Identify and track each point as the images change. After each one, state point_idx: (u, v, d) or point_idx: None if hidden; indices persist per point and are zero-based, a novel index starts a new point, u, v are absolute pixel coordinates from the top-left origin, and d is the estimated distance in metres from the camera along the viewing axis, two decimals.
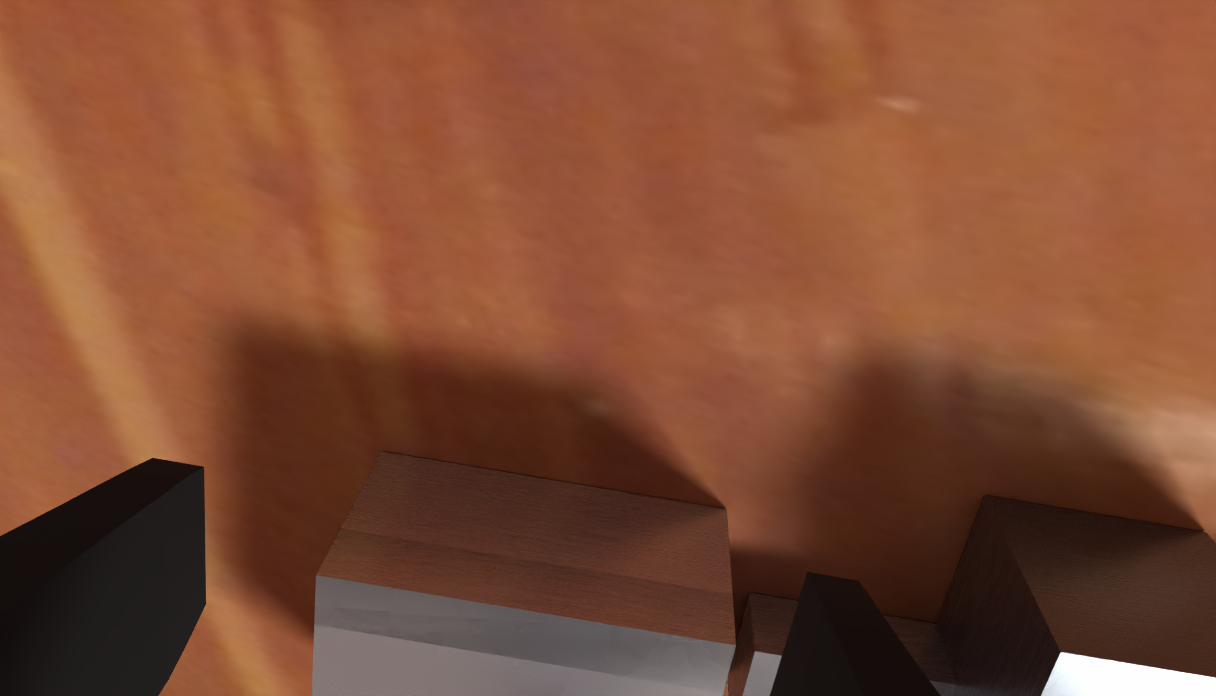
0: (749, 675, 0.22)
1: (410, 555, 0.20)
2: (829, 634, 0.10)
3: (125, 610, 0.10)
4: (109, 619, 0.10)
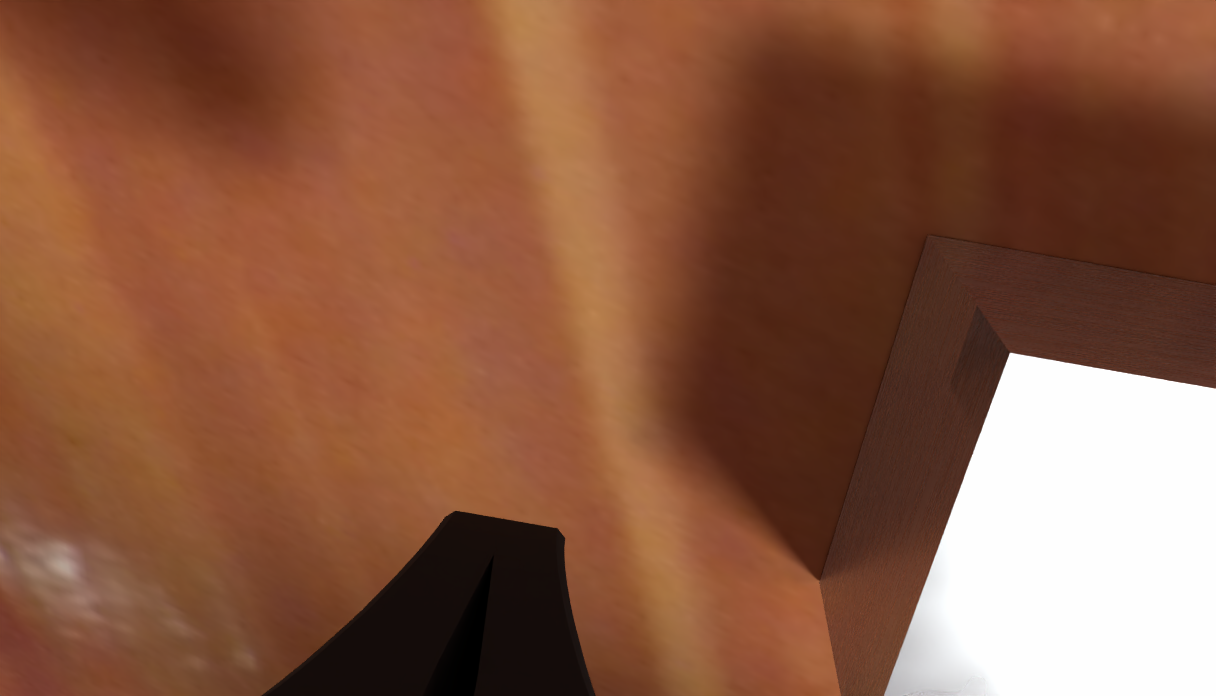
0: None
1: (1104, 340, 0.13)
2: (491, 575, 0.10)
3: (465, 669, 0.10)
4: (459, 680, 0.10)
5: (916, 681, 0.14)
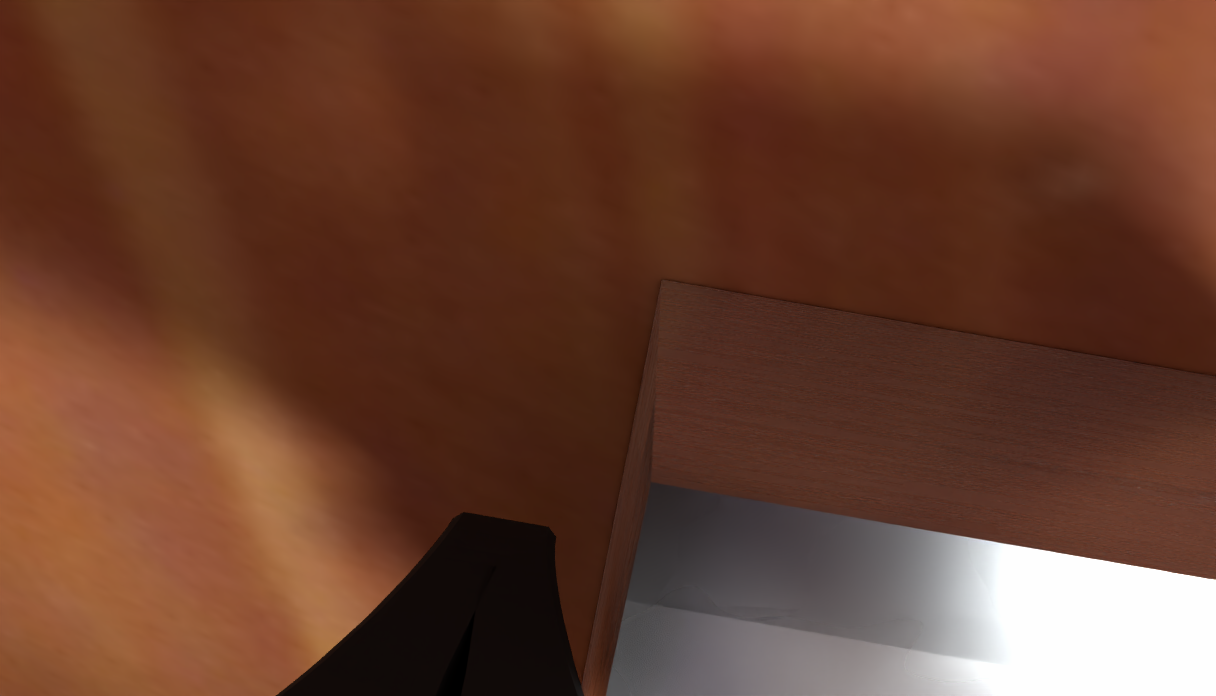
0: None
1: (825, 449, 0.09)
2: None
3: None
4: None
5: None
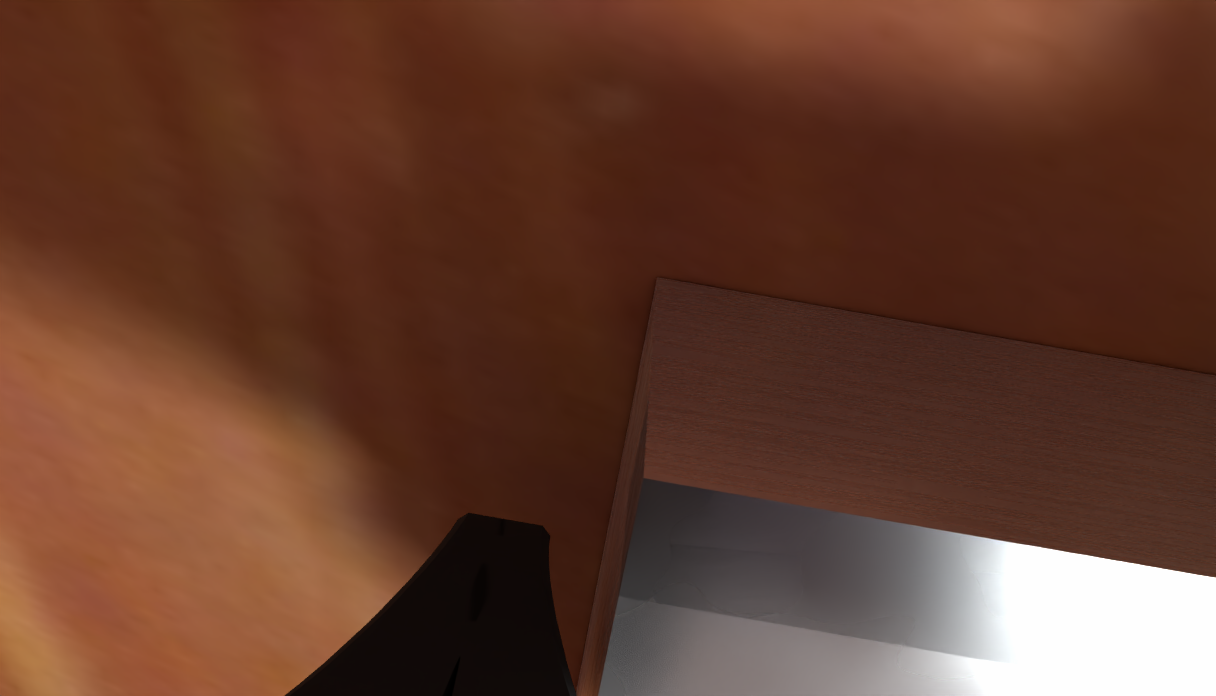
0: None
1: (818, 446, 0.09)
2: None
3: None
4: None
5: None
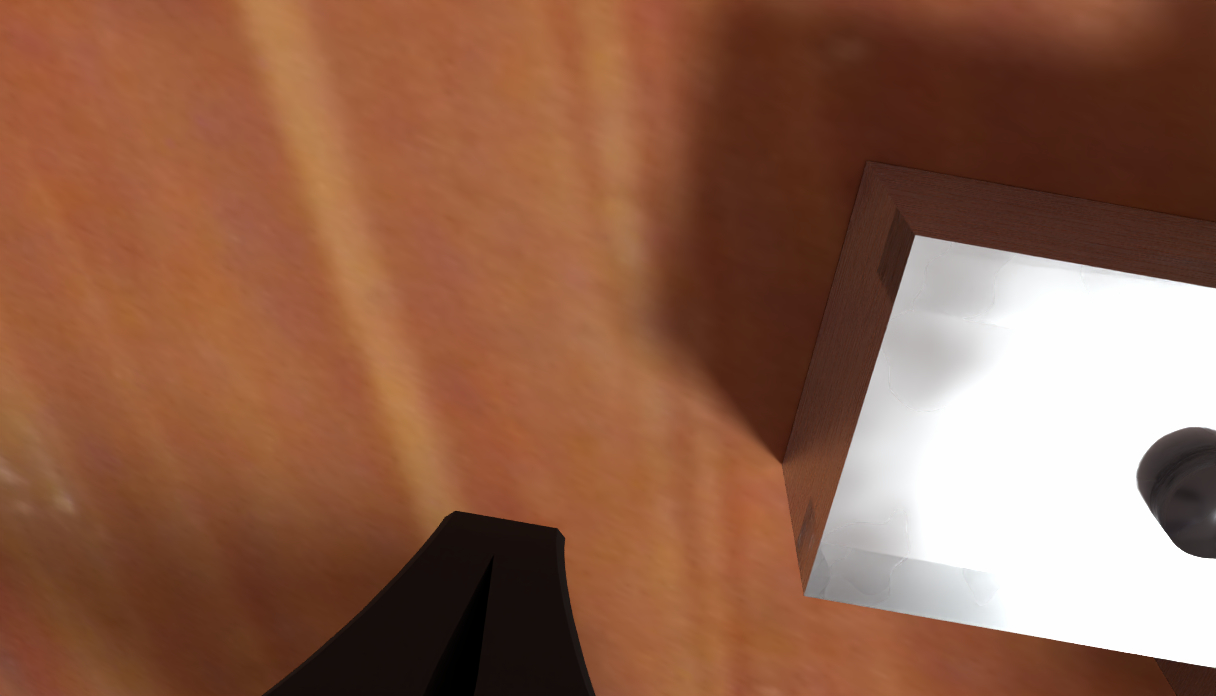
0: None
1: (995, 231, 0.16)
2: (491, 575, 0.10)
3: (465, 669, 0.10)
4: (458, 679, 0.10)
5: (851, 515, 0.18)
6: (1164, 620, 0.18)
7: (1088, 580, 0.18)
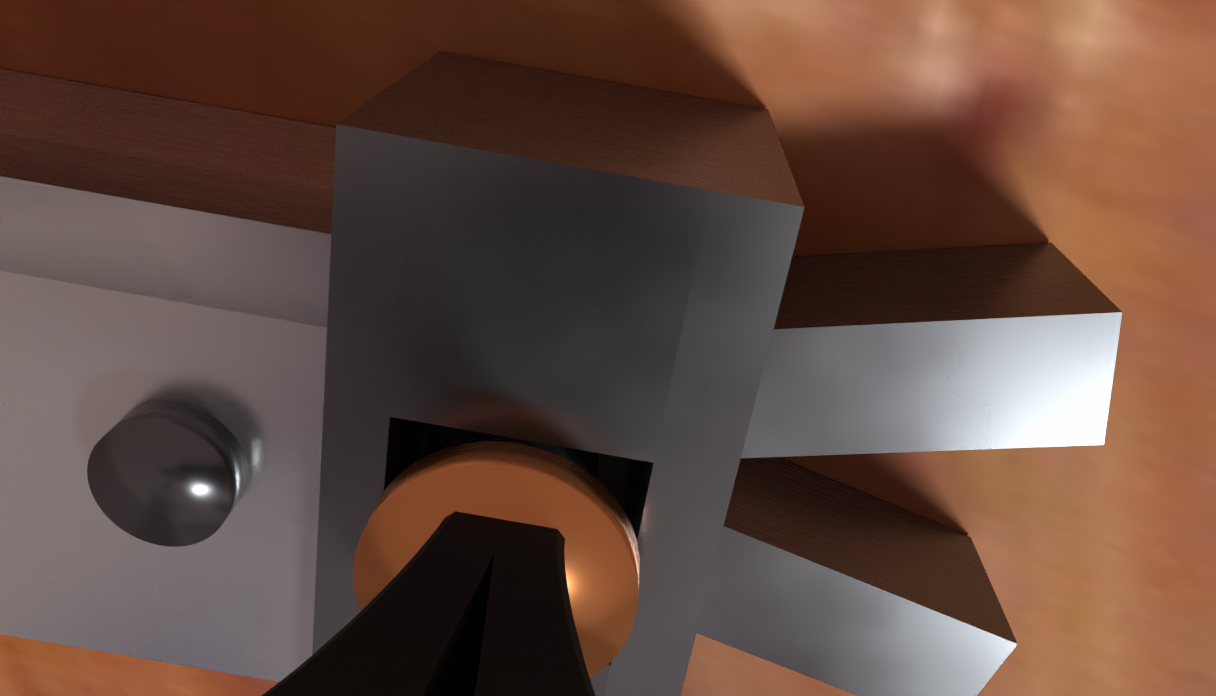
0: None
1: None
2: (491, 575, 0.10)
3: (465, 669, 0.10)
4: (458, 680, 0.10)
5: None
6: (209, 625, 0.14)
7: (95, 575, 0.14)
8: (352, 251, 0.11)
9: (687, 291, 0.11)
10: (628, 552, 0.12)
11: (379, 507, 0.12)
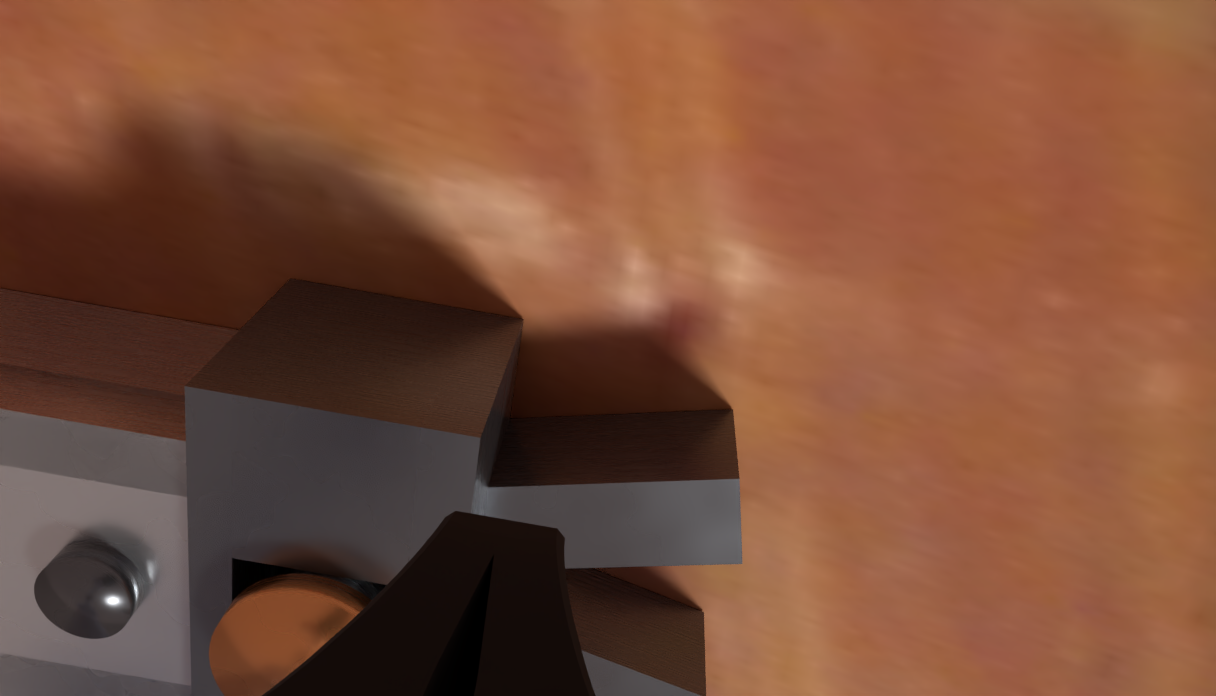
0: None
1: None
2: (491, 575, 0.10)
3: (465, 669, 0.10)
4: (459, 680, 0.10)
5: None
6: (123, 687, 0.20)
7: (43, 653, 0.20)
8: (200, 458, 0.17)
9: (414, 485, 0.17)
10: None
11: (223, 617, 0.18)
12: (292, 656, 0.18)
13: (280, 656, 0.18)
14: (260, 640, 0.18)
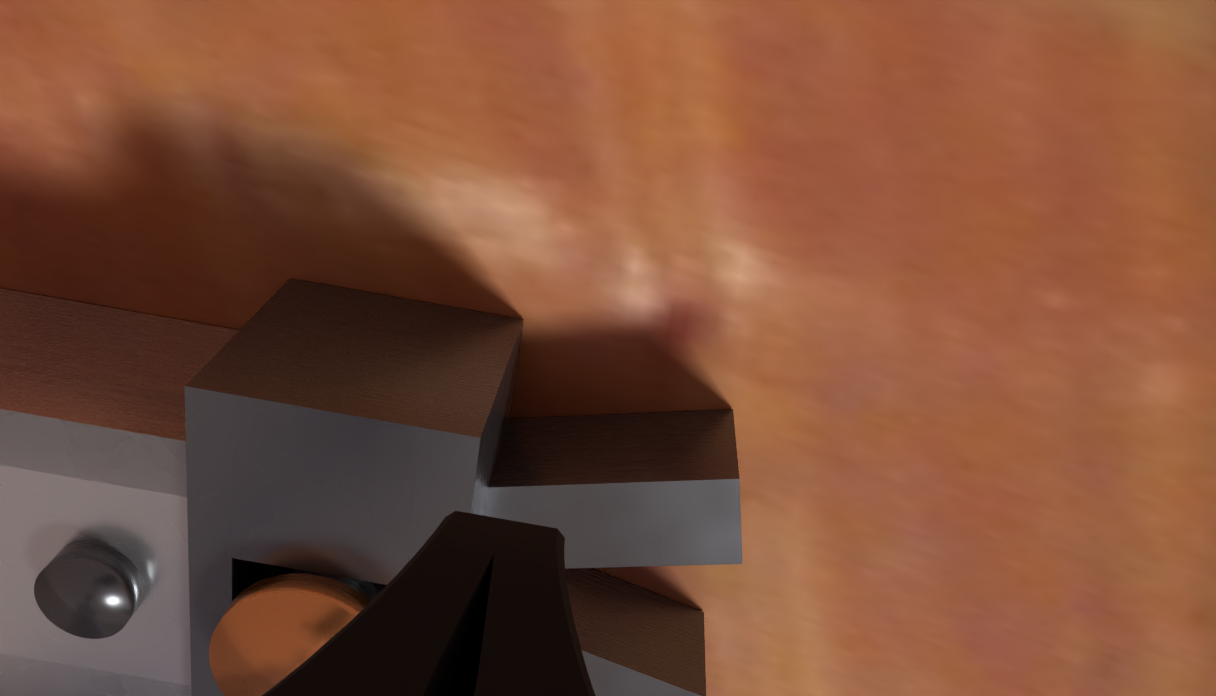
0: None
1: None
2: (491, 575, 0.10)
3: (465, 669, 0.10)
4: (459, 680, 0.10)
5: None
6: (123, 687, 0.20)
7: (43, 653, 0.20)
8: (200, 458, 0.17)
9: (414, 485, 0.17)
10: None
11: (223, 617, 0.18)
12: (292, 656, 0.18)
13: (280, 656, 0.18)
14: (260, 640, 0.18)
